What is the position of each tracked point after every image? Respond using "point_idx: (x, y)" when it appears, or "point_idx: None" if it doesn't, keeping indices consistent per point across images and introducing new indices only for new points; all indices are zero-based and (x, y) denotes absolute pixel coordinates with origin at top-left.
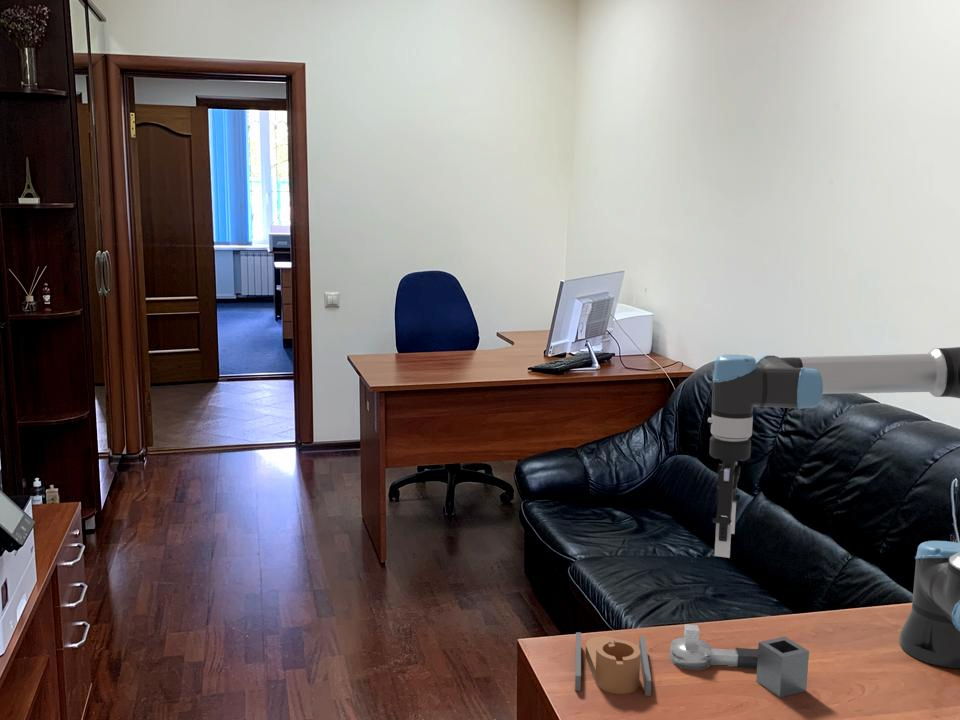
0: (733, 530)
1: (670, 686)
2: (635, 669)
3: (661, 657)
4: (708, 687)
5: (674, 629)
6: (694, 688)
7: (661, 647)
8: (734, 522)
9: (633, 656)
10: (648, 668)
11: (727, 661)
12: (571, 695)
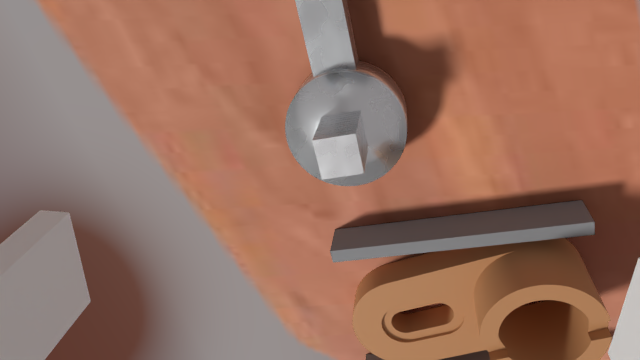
0: (54, 236)
1: (517, 156)
2: (576, 270)
3: (359, 187)
4: (499, 58)
5: (181, 165)
6: (514, 96)
7: (301, 190)
8: (7, 276)
9: (581, 299)
10: (521, 232)
11: (347, 13)
12: None
